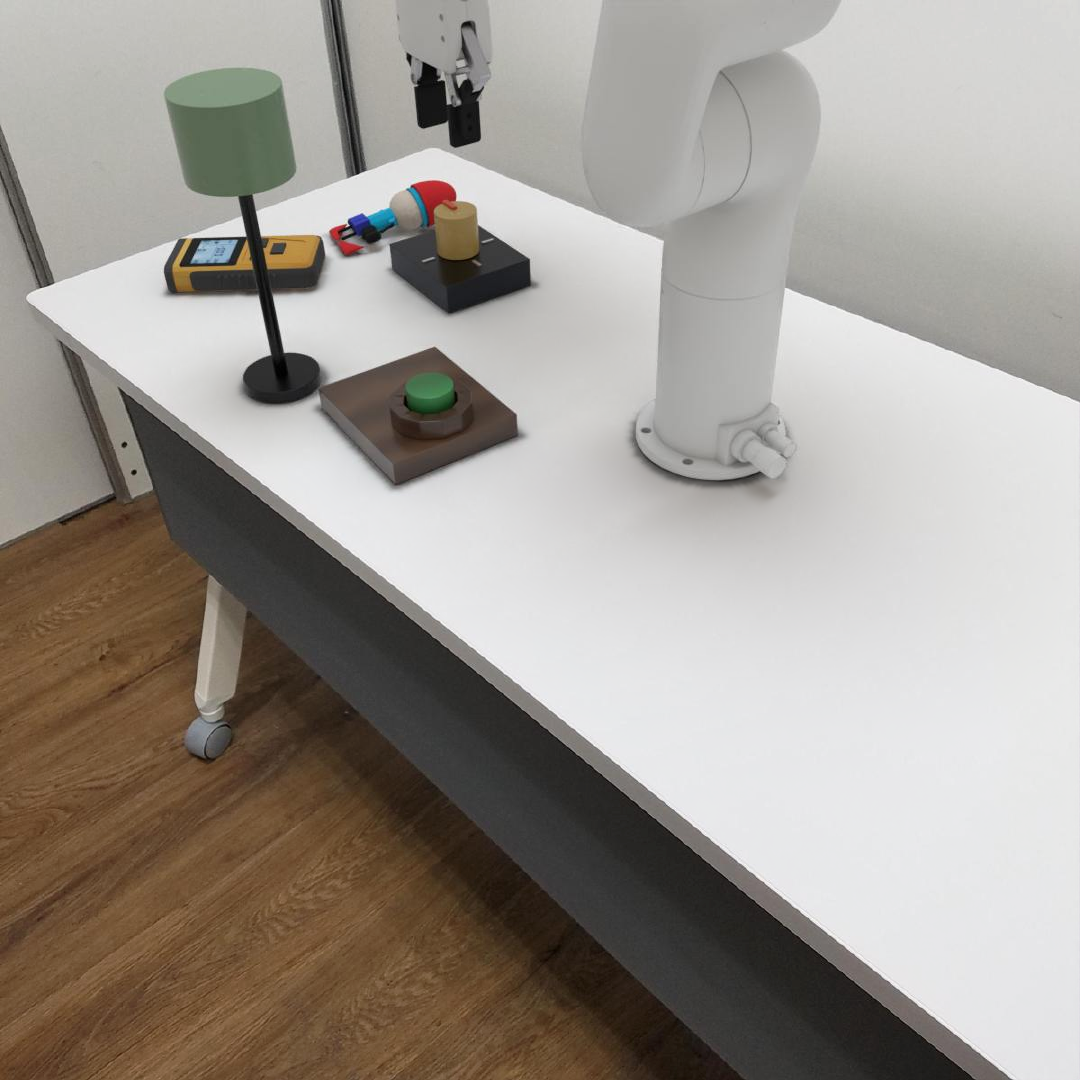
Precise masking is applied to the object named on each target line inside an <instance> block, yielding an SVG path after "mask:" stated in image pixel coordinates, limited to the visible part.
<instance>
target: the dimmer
mask: <svg viewBox="0 0 1080 1080" xmlns="http://www.w3.org/2000/svg"><path fill="white" fill-rule="evenodd" d="M434 220H435V224H434V230H435V231H436V242H437V252H438V254H439V256H441V257H442V258H445V259H448V260H464V259H468V258H471V257H474V256H475V255H477V254H478V252H479V234H478V225H479V220H478V209H477V206H476V205H475V204H474V203H471V202H469V201H463V200H456V201H452V202H450V201H448V200H443V201H442V204H440V205H438V206H437V207H436V208H435V209H434Z"/></svg>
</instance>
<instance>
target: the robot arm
mask: <svg viewBox="0 0 1080 1080" xmlns="http://www.w3.org/2000/svg"><path fill="white" fill-rule="evenodd" d="M841 2H842V0H602V1H601V7H600V13H599V18H598V25H597V32H596V37H595V44H594V51H593V56H592V60H591V61H592V62H591V69H590V74H589V79H588V86H587V92H586V98H585V105H584V111H583V117H582V125H581V126H582V127H581V142H580V143H581V145H580V146H581V162H582V169H583V173H584V178H585V181H586V185H587V188H588V191H589V193H590V195H591V197H592V199H593V200H594V203H595V204H596V206H598V208H599V209H600V210H601V212H603V213H604V214H605V215H606V216H607V217H608V218H610V219H611V220H612V221H614V222H615V223H618V224H619V225H620V224H621V225H623V226H626V227H630V228H650V227H651V228H652V227H658V226H661V225H664V224H667V226H666V228H665V229H666V230H665V232H664V239H663V246H662V252H661V253H662V256H661V258H662V259H661V269H660V270H661V271H660V287H659V289H660V291H659V312H658V335H657V353H656V354H657V355H656V376H655V377H656V379H655V398H654V399H653V400H650V402H648V403H647V404H646V405H645V406H644V407H643V408H642V409H641V410H640V412H639V414H638V416H637V418H636V423H635V440H636V442H637V445H638V447H639V449H640V451H642V453H643V455H645V456H646V457H647V458H648V459H649V460H650V461H651V462H652V463H654V464H656V465H657V466H659V467H660V468H661V469H664V470H666V471H669V472H670V473H673V474H676V475H680V476H683V477H686V478H692V479H695V480H696V479H697V480H706V481H707V480H708V481H724V480H726V481H727V480H735V479H739V478H745V477H748V476H750V475H753V474H757V473H759V472H760V473H762V474H764V475H765V476H766V477H768V478H769V479H772V480H774V479H776V478H778V477H779V476H781V474H782V473H784V470H785V469H786V466H787V459H786V458H790V457H791V456H793V454H794V453H795V452H796V450H797V443H796V442H795V441H793V440H792V439H790V438H789V437H787V436H786V435H787V430H786V424H785V423H784V420H783V418H782V417H781V415H780V407H778V406H777V405H776V404H774V403H773V402H772V396H773V395H772V394H773V387H774V379H775V370H776V363H777V355H778V347H779V339H780V331H781V324H782V323H781V322H782V316H783V315H782V314H783V309H784V308H783V307H784V300H785V299H784V298H785V292H786V290H785V289H786V282H787V278H788V273H789V263H790V255H791V249H792V242H793V235H794V229H795V224H796V220H797V219H796V218H797V214H798V210H799V206H800V202H801V199H802V195H803V191H804V188H805V186H806V182H807V179H808V176H809V174H810V170H811V167H812V164H813V161H814V157H815V153H816V151H817V147H818V142H819V137H820V130H821V122H822V121H821V120H822V115H821V114H822V113H821V112H822V111H821V110H822V109H821V102H820V95H819V91H818V89H817V85H816V82H815V81H814V78H813V77H812V74H811V73H810V71H809V70H808V68H807V67H806V66H805V65H804V64H803V62H801V60H799V59H798V58H797V57H796V56H795V55H792V54H791V53H790V52H788V51H786V50H785V49H787V48H791V47H793V46H795V45H798V44H800V43H803V42H805V41H807V40H809V39H811V38H813V37H815V36H816V35H818V34H820V33H821V31H823V30H824V29H825V28H826V27H827V26H828V25H829V23H830V22H831V20H833V17H834V16H835V15H836V12H837V11H838V9H839V7H840V4H841ZM489 8H490V7H489V0H395V10H396V11H395V12H396V22H397V29H398V30H397V31H398V40H399V42H400V45H401V47H402V49H403V50H404V52H405V54H406V55H405V56H406V58H405V59H406V61H407V63H408V65H409V67H410V81H411V83H412V85H413V92H414V101H415V103H414V104H415V112H416V113H415V114H416V122H417V127H419V128H420V129H423V130H425V129H428V128H432V127H436V126H440V125H444V124H446V123H447V124H448V126H447V127H448V138H449V140H448V141H449V145H450V146H451V147H452V148H454V149H458V148H461V147H464V146H468V145H472V144H476V143H479V142H480V141H481V139H482V129H481V113H480V102H481V101H482V98H483V97H482V96H483V95H482V92H483V90H484V89H485V86H486V85H487V84H488V82H489V80H491V76H492V72H491V69H490V67H489V65H491V63H492V61H493V51H494V50H493V38H492V26H491V17H490V9H489ZM459 61H463V62H464V65H463V66H459V67H458V65H457V62H459ZM442 72H443V74H444V75H443V76H444V79H445V80H443V79H441V77H442ZM461 75H465V76H466V78H465V79H463V80H462V82H461V83H460V86H459V83H458V79H457V76H461ZM446 87H447V88H446ZM447 93H448V96H449V101H450V103H448V101H447Z"/></svg>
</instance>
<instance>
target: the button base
mask: <svg viewBox="0 0 1080 1080" xmlns="http://www.w3.org/2000/svg"><path fill="white" fill-rule="evenodd" d="M424 373H440V374H444V375H446V376H448V377H449V378H450V379H451V380H452V381H453V386H454V397H455V403H454V405H453V407H452V408H451V409H448V410H446V411H443V412H441V413H438V414H420V413H416V412H412V411H411V410H410V409H409V408H408V405H407V397H406V389H405V387H406V384H407V382H408V381H409V380H410V379H411V378H413V377H415V376H417V375H420V374H424ZM317 389H318V394H319V395H318V396H319V401H320V405H321V406H320V407H321V410H323V411H324V412H325V413H326V414H327V416H329V417H330V418H331V420H332V421H333V422H335V424H336V425H337V426H338V427H339V428H340V429H341V430H342V431H343V432H344V433H345V434H346V435H347V436H348V437H349V438H350V439H351V440H352V441H353V442H354V443H355V444H356V445H357V446H358V448H359V449H360V450H361V451H362V452H363V453H364V454H365V455H366V456H367V457H368V458H369V459H370V460H371V461H372V462H373V463H374V464H375V465H376V466H377V467H378V468H379V469H380V470H381V472H383V473H384V474H385V475H386V476H387V478H389V479H390V480H391V481H392V482H393V484H394V485H399V484H401V483H404V482H407V481H410V480H412V479H414V478H416V477H419V476H421V475H423V474H427V473H429V472H431V471H434V470H436V469H438V468H441V467H443V466H446V465H449V464H450V463H453V462H455V461H458V460H460V459H463V458H465V457H468V456H470V455H473V454H476V453H477V452H478V453H479V452H480V451H482V450H485V449H488V448H490V447H493V446H494V445H497V444H500V443H502V442H504V441H507V440H509V439H512V438H516V437H517V436H518V435H519V432H518V431H519V430H518V429H519V428H518V414H517V413H516V412H514V411H513V410H512V409H511V408H510V407H508V405H506V404H505V403H504V402H503V401H501V400H500V398H498V397H496V396H495V395H494V394H493V393H492V392H491V391H490V390H489V389H487V388H486V387H485V386H483V385H482V384H481V383H480V382H479V381H477V380H476V379H475V378H473V376H471V375H470V374H469V373H468V372H467V371H466V370H464V369H463V368H461V366H460V365H458V364H457V363H455V362H454V360H452V359H451V358H450V357H449V356H447V355H446V354H445V353H443V352H442V351H441V350H440V349H438V347H436V346H432V347H429V348H426V349H424V350H421V351H418V352H415V353H413V354H410V355H407V356H405V357H401V358H398V359H395V360H393V361H390V362H387V363H384V364H382V365H379V366H376V367H374V368H371V369H367V370H364V371H362V372H359V373H357V374H354V375H350V376H348V377H345V378H343V379H340V380H337V381H334V382H331V383H328V384H326V385H322V386H319V387H318V388H317Z"/></svg>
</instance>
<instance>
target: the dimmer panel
mask: <svg viewBox="0 0 1080 1080" xmlns="http://www.w3.org/2000/svg"><path fill="white" fill-rule="evenodd" d="M478 234H479V252H478V254H477V255H475V256H474V257H471V258H468V259H464V260H448V259H445V258H442V257H441V256H439V254H438V252H437V242H436V231H435V229H434V230H433V229H432V230H430V231H427V232H424V233H420V234H417V235H414V236H410V237H407V238H404V239H401V240H398V241H394V242H391V243H389V244H388V245H389V253H390V261H391V262H390V263H391V270H392V271H393V272H395V273H396V274H397V275H398V276H399V277H401V278H402V279H404V280H405V281H406V282H407V283H409V284H410V285H412V287H414V288H416V290H418V291H419V292H420V293H421V294H423V295H424V296H425V297H427V298H428V299H429V300H431V301H432V302H433V303H434V304H436V305H437V306H438V307H440V308H441V309H442V310H443V311H445V312H446V313H447V314H451V313H455V312H457V311H460V310H464V309H467V308H469V307H472V306H475V305H478V304H480V303H485V302H486V301H489V300H493V299H496V298H498V297H501V296H504V295H507V294H510V293H513V292H516V291H519V290H522V289H524V288H527V287H530V286H532V284H531V283H532V280H531V275H532V274H531V259H530V257H528V256H526V255H524V254H523V253H522V252H520V251H518V250H517V249H516V248H513V246H511V245H509V244H508V243H506V242H505V241H504V240H502V239H500V238H498V237H497V236H495V235H494V234H492V233H491V232H490V231H488V230H486V229H485V228H483V227H482V226H481V225H479V224H478Z"/></svg>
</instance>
